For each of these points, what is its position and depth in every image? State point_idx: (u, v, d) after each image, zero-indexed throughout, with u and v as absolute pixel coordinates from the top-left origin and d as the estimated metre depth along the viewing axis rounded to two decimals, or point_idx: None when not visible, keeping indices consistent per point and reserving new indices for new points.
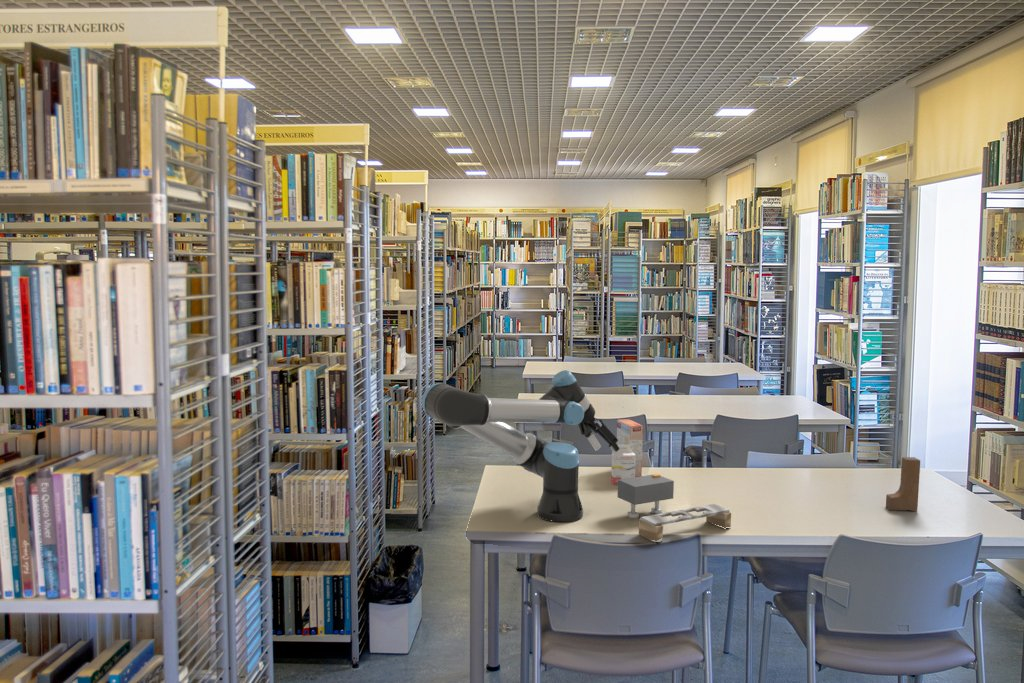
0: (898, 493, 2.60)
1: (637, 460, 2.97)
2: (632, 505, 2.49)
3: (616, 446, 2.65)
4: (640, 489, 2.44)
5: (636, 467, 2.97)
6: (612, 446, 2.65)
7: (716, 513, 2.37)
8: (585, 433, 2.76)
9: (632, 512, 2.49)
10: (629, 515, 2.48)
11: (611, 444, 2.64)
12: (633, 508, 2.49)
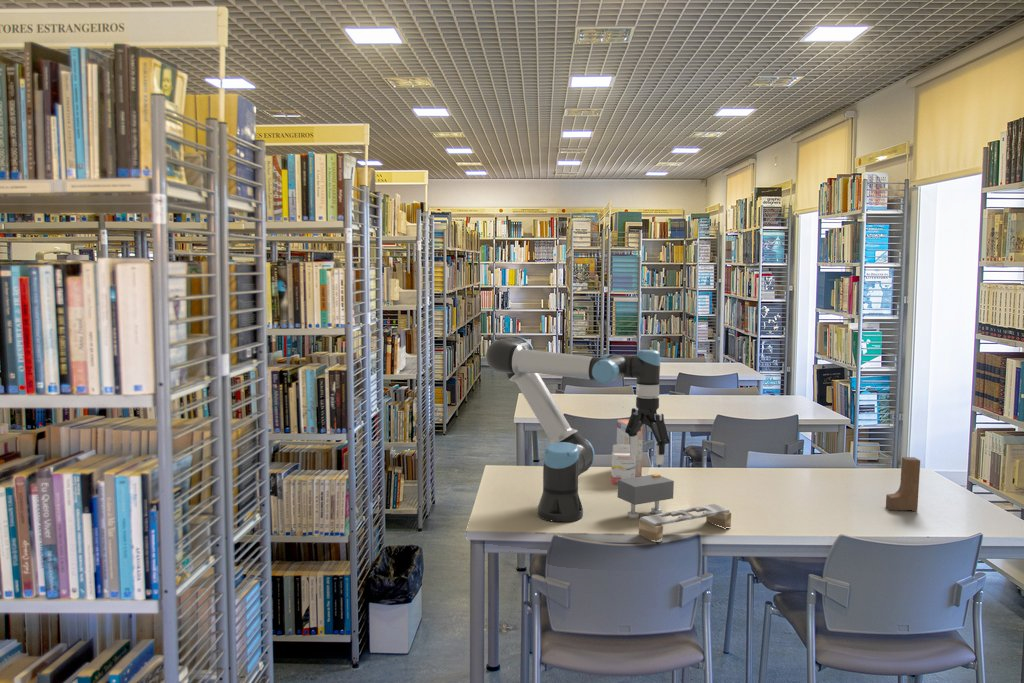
0: (898, 493, 2.60)
1: (637, 460, 2.97)
2: (632, 505, 2.49)
3: (663, 449, 2.43)
4: (640, 489, 2.44)
5: (636, 467, 2.97)
6: (659, 447, 2.43)
7: (716, 513, 2.37)
8: (631, 430, 2.55)
9: (632, 512, 2.49)
10: (629, 515, 2.48)
11: (660, 443, 2.42)
12: (633, 508, 2.49)
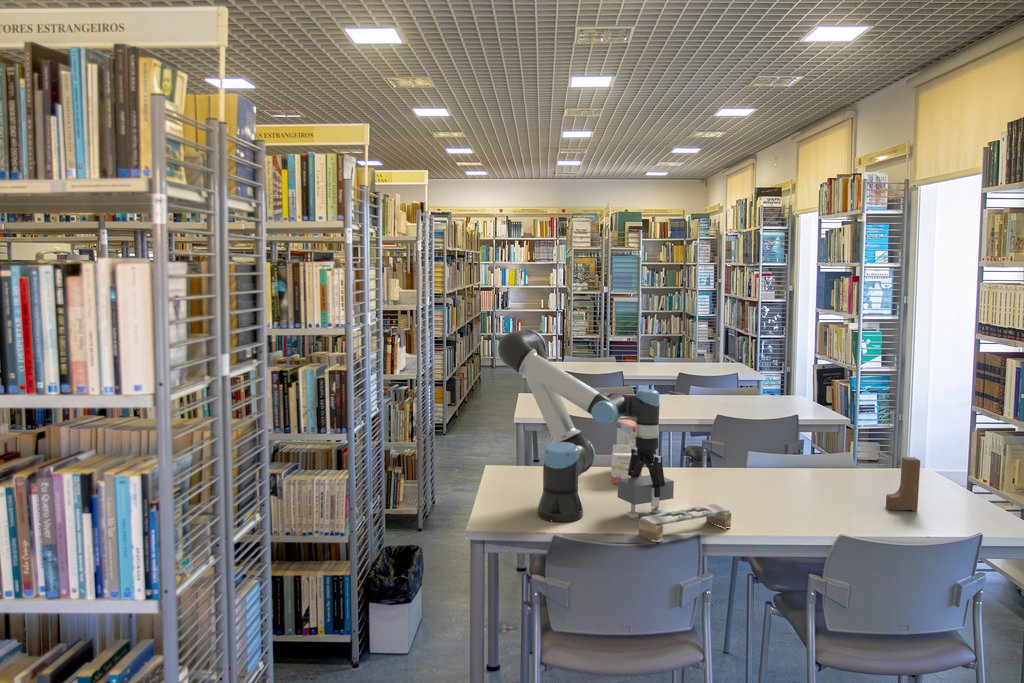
0: (898, 493, 2.60)
1: None
2: (632, 505, 2.49)
3: (658, 492, 2.45)
4: (640, 489, 2.44)
5: None
6: (654, 490, 2.46)
7: (716, 513, 2.37)
8: (633, 472, 2.55)
9: (632, 512, 2.49)
10: (629, 515, 2.48)
11: (655, 486, 2.45)
12: (633, 508, 2.49)
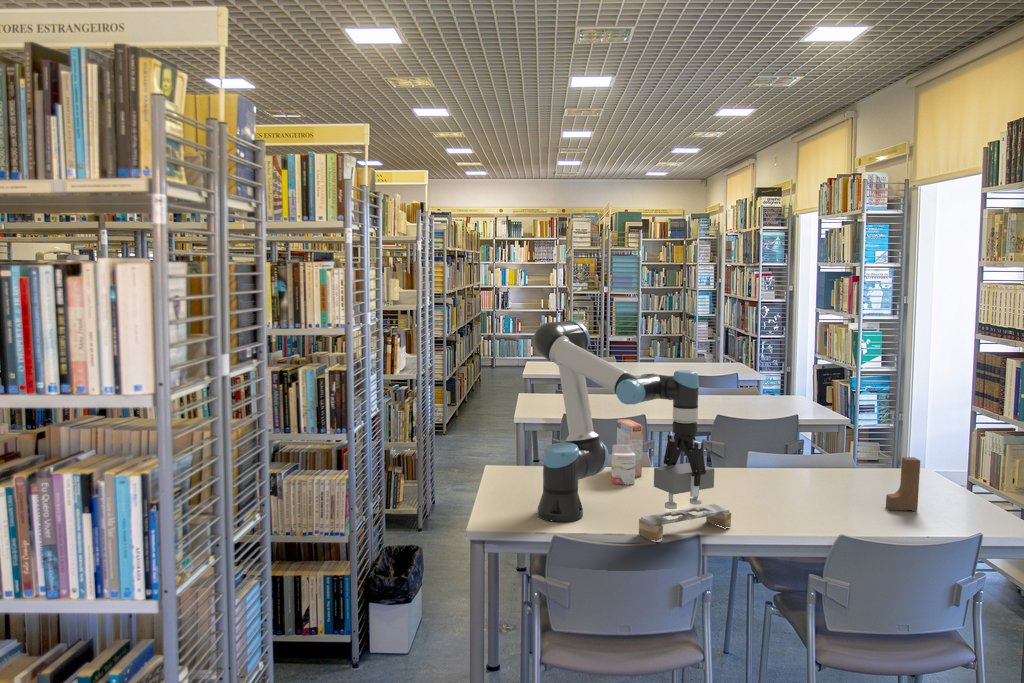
0: (898, 493, 2.60)
1: (637, 460, 2.97)
2: (670, 495, 2.31)
3: (698, 480, 2.27)
4: (679, 478, 2.26)
5: (636, 467, 2.97)
6: (694, 478, 2.28)
7: (716, 513, 2.37)
8: (670, 460, 2.37)
9: (670, 502, 2.31)
10: (667, 506, 2.30)
11: (695, 474, 2.27)
12: (671, 498, 2.31)
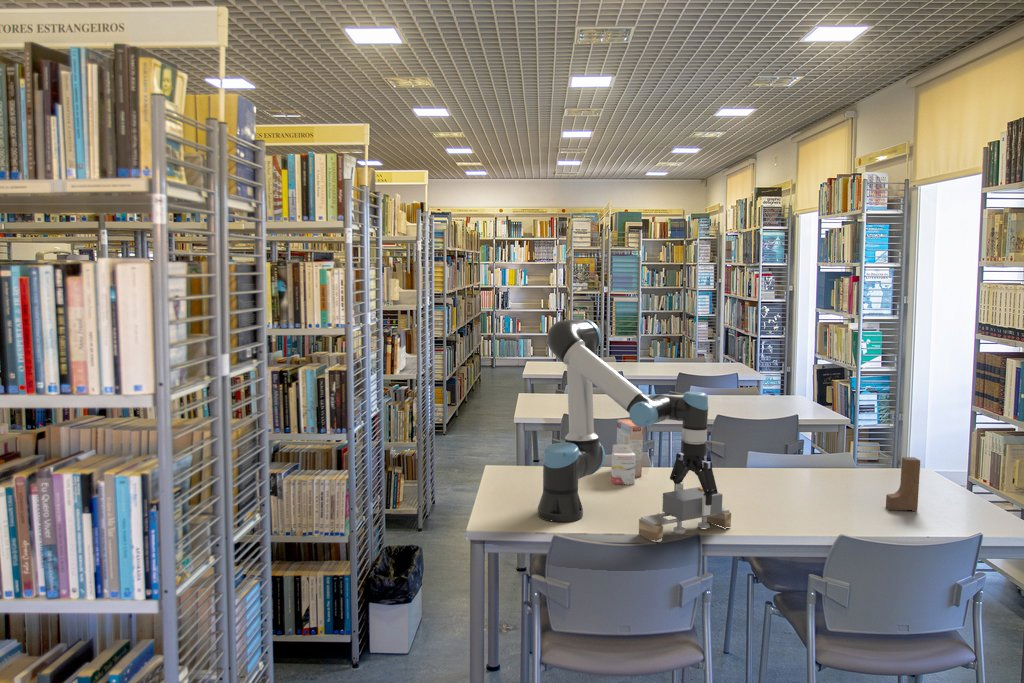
0: (898, 493, 2.60)
1: (637, 460, 2.97)
2: None
3: (710, 499, 2.29)
4: (688, 504, 2.29)
5: (636, 467, 2.97)
6: (706, 497, 2.29)
7: None
8: (677, 477, 2.40)
9: (678, 527, 2.34)
10: (675, 531, 2.33)
11: (707, 493, 2.28)
12: (679, 523, 2.34)
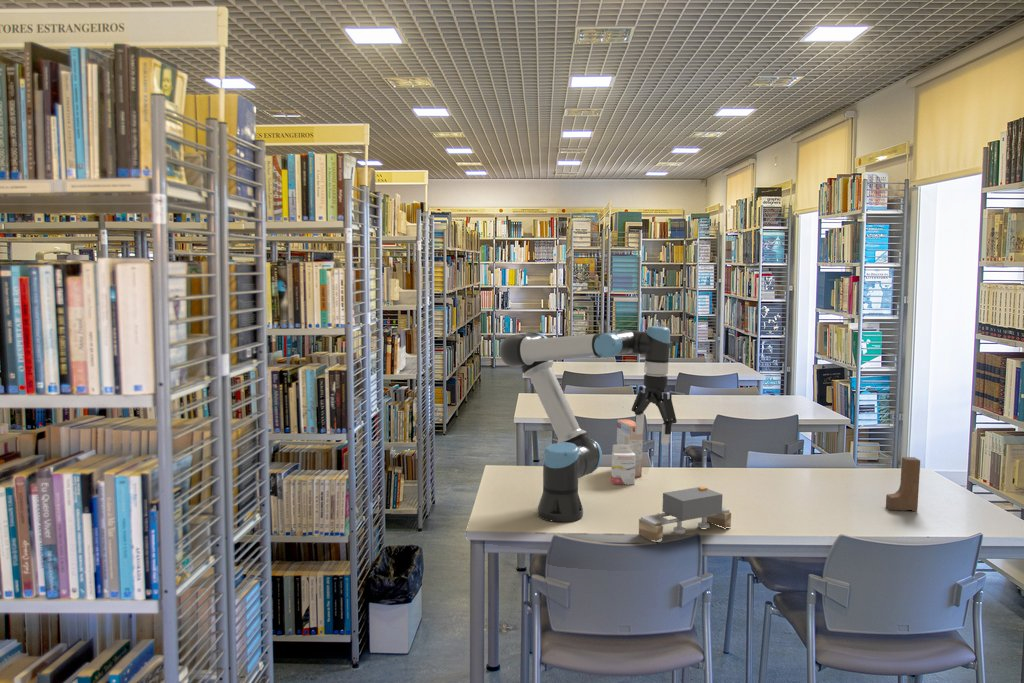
0: (898, 493, 2.60)
1: (637, 460, 2.97)
2: None
3: (669, 429, 2.36)
4: (688, 504, 2.29)
5: (636, 467, 2.97)
6: (665, 427, 2.37)
7: None
8: (638, 408, 2.48)
9: (678, 527, 2.34)
10: (675, 531, 2.33)
11: (667, 423, 2.36)
12: (679, 523, 2.34)
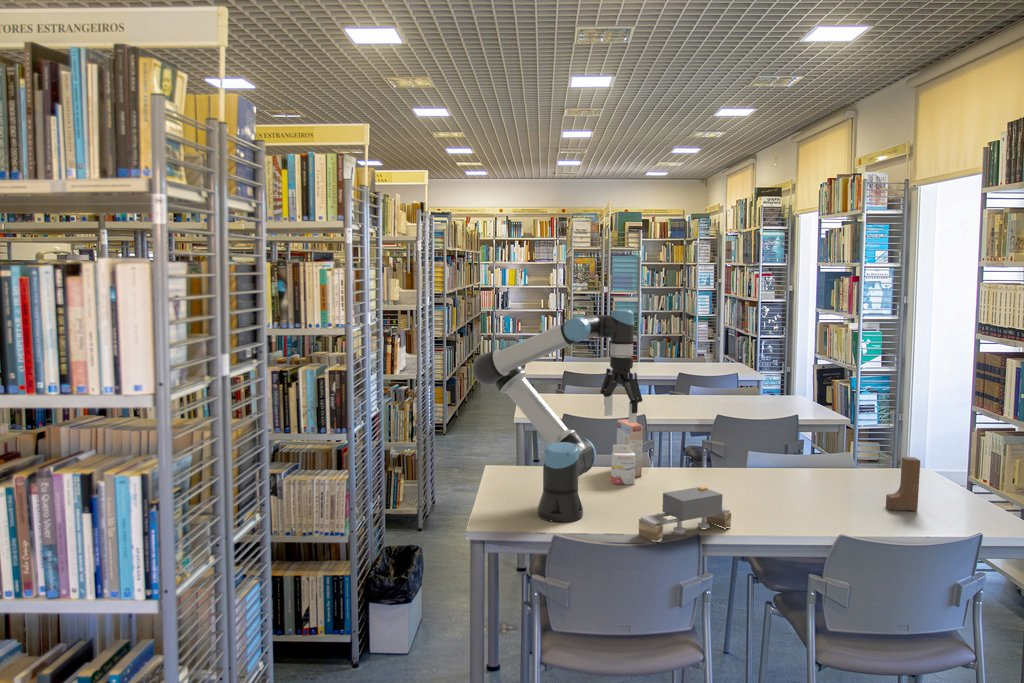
0: (898, 493, 2.60)
1: (637, 460, 2.97)
2: None
3: (636, 407, 2.45)
4: (688, 504, 2.29)
5: (636, 467, 2.97)
6: (632, 406, 2.45)
7: None
8: (606, 390, 2.57)
9: (678, 527, 2.34)
10: (675, 531, 2.33)
11: (633, 402, 2.44)
12: (679, 523, 2.34)
